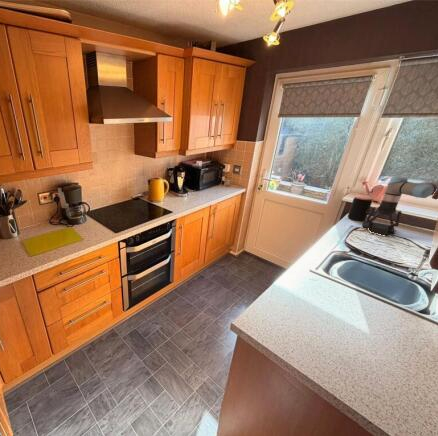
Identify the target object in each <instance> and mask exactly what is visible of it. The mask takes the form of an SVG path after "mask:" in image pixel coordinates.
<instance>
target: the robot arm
mask: <svg viewBox="0 0 438 436" xmlns="http://www.w3.org/2000/svg"><path fill="white" fill-rule="evenodd" d="M437 186H438V180H435V181H431V182H420V183H419V182H412V181H409V177H406V176H398V175H394V176H391V177H390V179H389V181H388V183H387V186H386V189H385V191H384V194H383V196H382V199H381V201H380V204H379V206H377V207H376V206H372V208H371V210H370V212H369V213H368V215H367V217H366V220H365V221H368V222H369V223H368V227H369V230H370V229H371V227H372V224H373V222H375V220H376V219H377V218H379V217H380V216H381V215H385V216H388V218H389V222H390V224H388V225H389V227H388V233H389V231H392V229H393V227H394V228H395V227H399V224H400V217H401V215H402V210H397V207H398V204H399V202H400V199H401V197H402V195H406V196H410V197H413V198H414V197H415V198H418V199H419V198H420V199H426V198H429V197H430V196H434V195H433V194H434V192H435V191H436V189H437ZM377 210H378V212H377V213H376V214H374V213H375V211H377ZM394 213H395V214H396V217H395V223H394V220H393V216H392V215H393V214H394ZM373 214H374V216H373ZM388 233H387V235H386V236H388V235H389V234H388Z"/></svg>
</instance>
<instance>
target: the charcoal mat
mask: <svg viewBox="0 0 438 436" xmlns="http://www.w3.org/2000/svg"><path fill="white" fill-rule="evenodd" d="M372 222H373V224H378V225H384V226H388V227H389V225H390V224H387V223H381V222H375V221H372ZM368 223H369V222H368V221H366V220H363V221H362V226H361V228H362V227H363V228H369V227H368ZM363 228H362V229H363ZM395 233H396V229H395V226H394V227H393V229H392V231H389V233H388V235H392V236H393V235H395Z"/></svg>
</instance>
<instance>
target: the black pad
mask: <svg viewBox="0 0 438 436" xmlns="http://www.w3.org/2000/svg"><path fill="white" fill-rule="evenodd" d="M370 231H371V232H374V233H378V234H381V235H385V236H386V237H387V236H388V235H387V233H388V226H384V225H378V224H372V227H371V229H370Z"/></svg>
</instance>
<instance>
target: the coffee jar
mask: <svg viewBox="0 0 438 436" xmlns="http://www.w3.org/2000/svg"><path fill="white" fill-rule="evenodd" d="M373 200H374V197H372V196H368V195H360V194H355V195H354V196H353V198H352V202H351V205H350V209H349V211H348V215H347V218H348V219H349V220H351V221H354V222H363V220H365V221H366V219H367V217H368V215H369V213H370V212H369V211H370V209H371V206H372V203H373Z"/></svg>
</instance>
